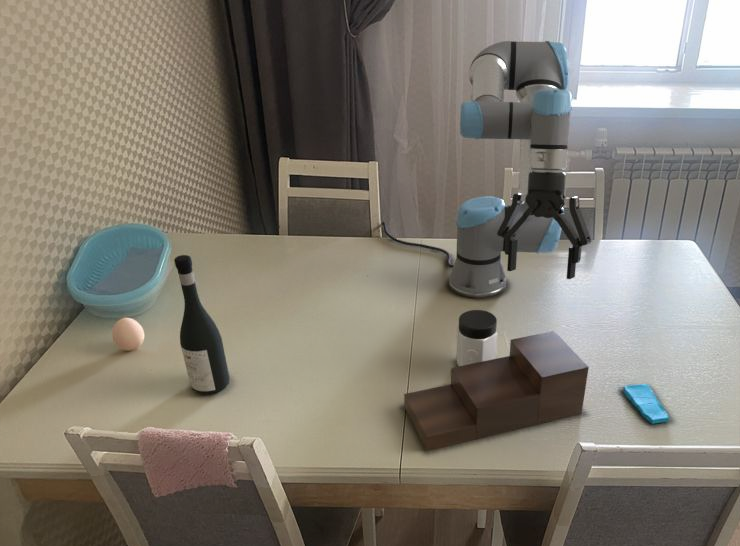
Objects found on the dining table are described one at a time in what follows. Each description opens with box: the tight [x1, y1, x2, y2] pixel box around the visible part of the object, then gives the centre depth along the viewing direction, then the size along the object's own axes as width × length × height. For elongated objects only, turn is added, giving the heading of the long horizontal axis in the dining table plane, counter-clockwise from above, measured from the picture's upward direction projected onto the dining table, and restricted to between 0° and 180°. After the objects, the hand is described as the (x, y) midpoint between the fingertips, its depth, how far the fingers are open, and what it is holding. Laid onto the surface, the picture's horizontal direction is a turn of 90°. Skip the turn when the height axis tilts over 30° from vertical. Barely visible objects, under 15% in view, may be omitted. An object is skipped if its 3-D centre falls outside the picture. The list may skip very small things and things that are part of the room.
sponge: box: [623, 383, 670, 425], centre depth 139 cm, size 2×12×6 cm
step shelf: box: [403, 330, 589, 452], centre depth 135 cm, size 14×33×12 cm, turn 110°
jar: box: [456, 309, 499, 367], centre depth 148 cm, size 9×8×12 cm
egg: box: [111, 317, 145, 352], centre depth 155 cm, size 7×7×8 cm
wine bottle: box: [173, 254, 230, 396], centre depth 137 cm, size 8×8×30 cm
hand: (540, 274), depth 145 cm, fingers open, 13 cm apart
